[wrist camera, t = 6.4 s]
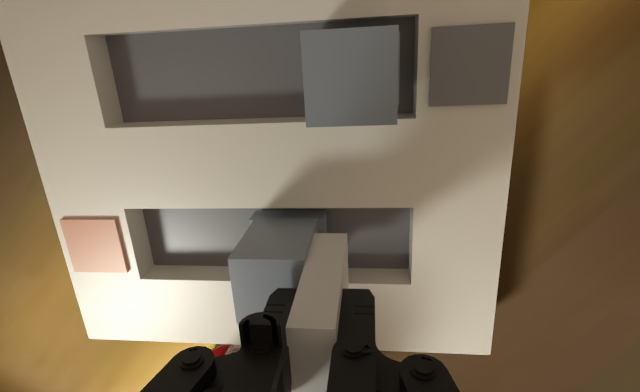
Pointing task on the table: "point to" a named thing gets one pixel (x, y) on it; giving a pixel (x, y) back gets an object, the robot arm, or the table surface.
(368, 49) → the switch tab
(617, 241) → the table surface
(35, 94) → the switch bank
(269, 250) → the switch tab
